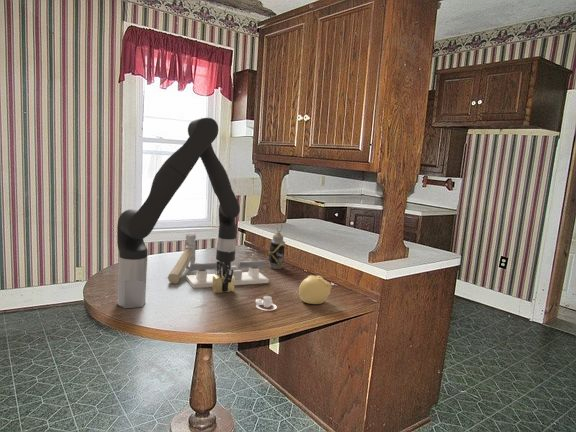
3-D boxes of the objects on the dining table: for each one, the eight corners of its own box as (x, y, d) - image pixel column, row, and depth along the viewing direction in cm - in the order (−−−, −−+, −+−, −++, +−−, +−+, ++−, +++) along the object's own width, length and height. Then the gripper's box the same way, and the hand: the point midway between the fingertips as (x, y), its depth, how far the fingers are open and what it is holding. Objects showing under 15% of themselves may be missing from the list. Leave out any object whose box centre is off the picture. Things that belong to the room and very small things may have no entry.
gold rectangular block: (233, 291, 168) (235, 277, 167) (215, 292, 164) (216, 278, 163) (230, 288, 172) (231, 274, 171) (212, 289, 168) (213, 275, 167)
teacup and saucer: (252, 303, 158) (253, 293, 157) (271, 302, 161) (272, 292, 161) (259, 312, 150) (260, 301, 149) (280, 311, 153) (281, 300, 153)
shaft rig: (268, 282, 183) (270, 264, 182) (193, 288, 167) (194, 267, 166) (257, 274, 194) (259, 257, 192) (185, 278, 177) (186, 259, 176)
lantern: (285, 269, 206) (290, 220, 203) (270, 269, 203) (275, 220, 199) (279, 264, 214) (284, 217, 211) (264, 264, 211) (269, 217, 207)
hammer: (178, 263, 166) (197, 232, 194) (167, 262, 166) (187, 231, 194) (179, 296, 172) (196, 262, 200) (167, 295, 172) (187, 261, 200)
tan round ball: (333, 303, 165) (336, 278, 163) (312, 309, 157) (315, 282, 155) (313, 294, 173) (316, 270, 172) (292, 299, 165) (295, 273, 164)
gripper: (211, 244, 170) (208, 284, 172) (223, 253, 157) (219, 296, 160) (229, 244, 173) (226, 283, 176) (241, 252, 161) (237, 294, 163)
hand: (223, 289), depth 168 cm, fingers closed on gold rectangular block, 4 cm apart
